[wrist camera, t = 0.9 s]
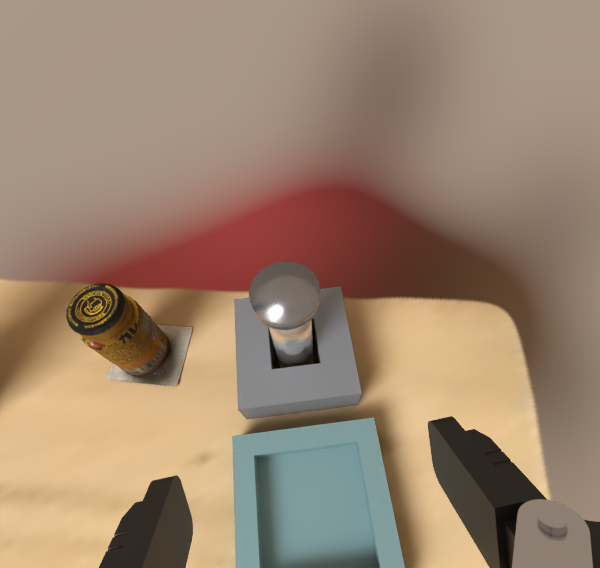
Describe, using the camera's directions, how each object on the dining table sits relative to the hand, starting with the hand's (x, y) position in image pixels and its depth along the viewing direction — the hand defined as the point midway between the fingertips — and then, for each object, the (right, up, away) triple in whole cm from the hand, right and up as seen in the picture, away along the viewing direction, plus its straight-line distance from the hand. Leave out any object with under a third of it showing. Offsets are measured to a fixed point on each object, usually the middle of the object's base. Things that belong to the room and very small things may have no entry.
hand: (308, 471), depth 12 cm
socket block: (-1, -3, +32) cm, 32 cm away
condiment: (-18, -2, +34) cm, 38 cm away
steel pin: (-1, -3, +32) cm, 32 cm away
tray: (+1, -16, +25) cm, 29 cm away
